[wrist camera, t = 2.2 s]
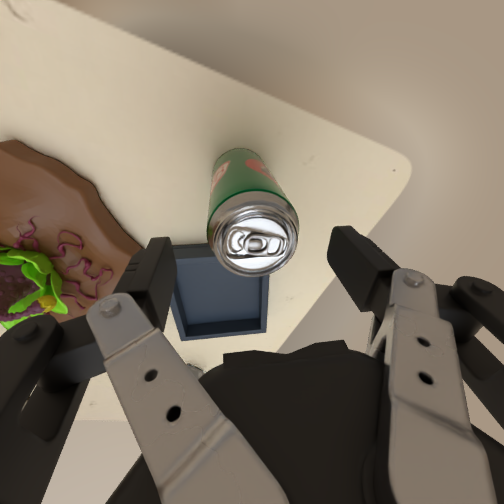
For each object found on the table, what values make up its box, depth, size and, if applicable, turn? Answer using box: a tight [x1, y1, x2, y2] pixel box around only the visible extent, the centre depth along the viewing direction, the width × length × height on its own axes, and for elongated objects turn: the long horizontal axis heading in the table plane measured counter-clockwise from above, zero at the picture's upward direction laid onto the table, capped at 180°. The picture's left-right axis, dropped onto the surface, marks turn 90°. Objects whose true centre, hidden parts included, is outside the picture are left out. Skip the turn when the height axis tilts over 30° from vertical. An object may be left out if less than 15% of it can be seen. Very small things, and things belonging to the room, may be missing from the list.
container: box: [170, 244, 269, 341], centre depth 28 cm, size 14×12×3 cm
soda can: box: [207, 149, 299, 277], centre depth 16 cm, size 5×5×12 cm
